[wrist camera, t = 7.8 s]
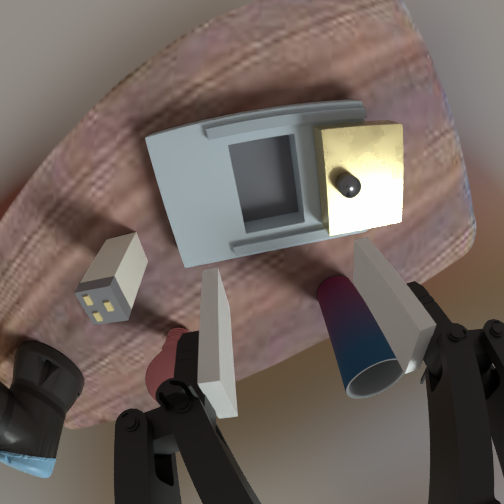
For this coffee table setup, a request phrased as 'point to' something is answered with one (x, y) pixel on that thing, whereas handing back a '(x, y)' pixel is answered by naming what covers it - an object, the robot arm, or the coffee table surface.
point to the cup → (357, 340)
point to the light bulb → (163, 362)
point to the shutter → (359, 174)
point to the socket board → (245, 179)
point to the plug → (113, 280)
